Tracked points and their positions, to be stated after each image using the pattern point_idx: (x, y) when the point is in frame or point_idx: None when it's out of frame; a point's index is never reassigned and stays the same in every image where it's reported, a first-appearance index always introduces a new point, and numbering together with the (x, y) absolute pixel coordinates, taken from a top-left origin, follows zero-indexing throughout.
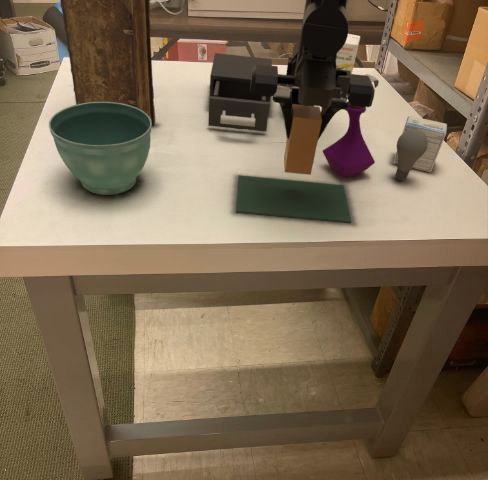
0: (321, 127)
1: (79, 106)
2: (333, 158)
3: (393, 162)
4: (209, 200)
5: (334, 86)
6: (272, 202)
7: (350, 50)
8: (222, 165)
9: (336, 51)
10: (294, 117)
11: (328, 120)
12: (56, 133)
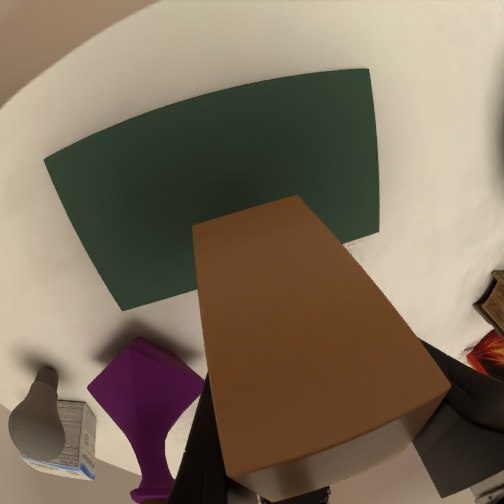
0: (215, 425)
1: None
2: (171, 370)
3: (85, 404)
4: (422, 108)
5: None
6: (284, 140)
7: None
8: (404, 257)
9: None
10: (447, 385)
11: (186, 475)
12: None
